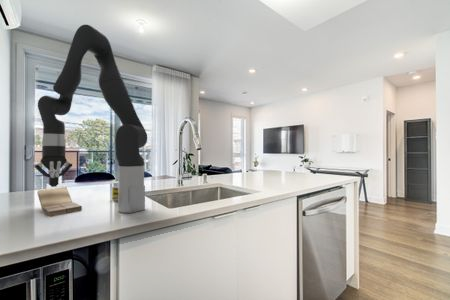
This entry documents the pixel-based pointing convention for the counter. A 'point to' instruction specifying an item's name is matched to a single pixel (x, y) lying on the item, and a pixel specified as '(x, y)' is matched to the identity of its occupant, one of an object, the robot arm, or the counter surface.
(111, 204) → the counter surface
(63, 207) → the brown flat square block
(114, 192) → the supplement bottle
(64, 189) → the oak plank
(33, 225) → the counter surface
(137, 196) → the robot arm
